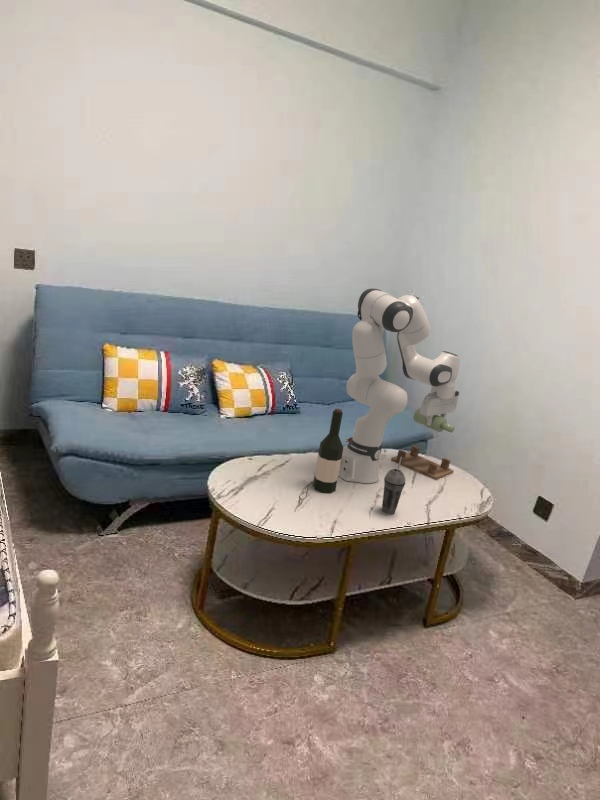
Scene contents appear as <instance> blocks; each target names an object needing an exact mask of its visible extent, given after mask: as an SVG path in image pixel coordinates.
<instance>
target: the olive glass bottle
mask: <svg viewBox="0 0 600 800" xmlns="http://www.w3.org/2000/svg"><path fill="white" fill-rule="evenodd" d="M420 408H421V407H420ZM420 408H418V409H416V410H415V412H414V414H413V421H414V422H415V423H417V424H418V425H419V424H420V425H422V426H424V427H427V428H428V429H431V430H433V431H436V432H438V433H441V432H443V431H446V432H448V433H450V434H452V433H453V432H455V426H454V425H452V424H450V423H448V422H447V418H446V417H445V418H443V417H441V416H440V415H434V416H433V418H432V421H433V423H432V425H430V426H429V425H427V417H426V416H423V415H421V414H420Z"/></svg>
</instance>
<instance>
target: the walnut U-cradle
mask: <svg viewBox="0 0 600 800" xmlns="http://www.w3.org/2000/svg"><path fill="white" fill-rule="evenodd" d="M419 452H420V447H418V446H415V445H411V448H410V451H405V450H402V449H399V450H397V455H395V456H392V457H391V458H390V461H391V462H393V463H395V464H398V465H399V461H400V457H402V459H401V463H400V466H403V467H405V468H407V469H409V470H412V471H414V472H416V473H419V474H421V475H423V476H425V477H428V478H430V479H433V480H435V481H438V480H441V479H443V478H445V477H447V475H448V476H451V475H452V474H454V469H452V468H450V464H451V459H448V458H445V457H442V459H441V463H436V462H434V461H432V460H430V459H428V458H425V457H422V456H420V455H419ZM440 478H441V479H440Z"/></svg>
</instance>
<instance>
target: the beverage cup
mask: <svg viewBox="0 0 600 800" xmlns="http://www.w3.org/2000/svg"><path fill="white" fill-rule="evenodd" d="M401 459H402V457H400V461H399V464H398V466H397V468H393V469H390V470H389V471H387V472H386V474H385V476H384V478H383V481H384V482H383V483H384V484H383V485H384V487H383V495H382V503H381V511H382V513H383V514H386V515H391V516H393V515H395V513H396V511H397V508H398V505H399V501H400V499H401V495H402V493H403V492H402V491H403V490H404V488H405V485H406V476H405V474H404V472H403V471H402V470H401V469H400V466H401V465H400V463H401Z"/></svg>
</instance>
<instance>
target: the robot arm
mask: <svg viewBox="0 0 600 800" xmlns="http://www.w3.org/2000/svg"><path fill="white" fill-rule="evenodd" d="M357 302H358V303H357V309H358V310H357V312H356V313H357V317H358V319H359V320H360V321H358V322H357V323H355V325H354V326H353V327H352V328H353V329H352V338H351V341H352V342H351V343H352V349H353V350H352V351H353V356H354V362H355V373H353V374H352V375H351V376H350V377H349V378H348V380H347V382H346V387H345V388H346V393H347V395H348V396H349V397H351V398H352V399H354V400H355V401H356V402H357V403H358V402H359V403H361V404H363V405H366V406H368V407H369V411H368V413H367V414H365V415H361V416H359V417H358V418H357V419H356V421H355V423H354V424H355V425H354V430H353V435H352V437H349V438H347V439H346V441H345V443H347V445H343V453H342V458H341V464H340V469H339V474H338V478H341V479H342V480H344V481H346V482H355V483H359V484H360V483H362V484H374V483H376V482H378V481H379V462H380V461H379V460H380V457H381V453H382V448H383V444H382V442H383V437H384V434H385V429H386V427H387V426H388V425H387V424H388V422H389V421H390V420H391V419H392V418H393V417H394V416H396V415H399V414H401V413H402V412H403V411H404V410H405V409H406V407H407V405H408V398H409V397H408V392H407V391H406V390H405V389H403V388H402V387H400V386H399V385H397V384H395V383H393V382H389V381H387V380H384V379H382V378H381V377H380V376H381V374H383V373H384V372H385V370H386V369H387V366H388V360H387V353H386V346H385V342H384V338H383V337H384V331H389V332H390V333H397V334H396V340H397V345H398V349H399V352H400V357H401V361H402V362H401V363H402V372H403V373H402V374H403V375H404V377H405V378H406V379H410V380H414V381H417V382H419V383H422V384H424V385H428V386H430V392H429V393H427V395H425V397H424V398H423V399H422V401H421V402H422V403H421V405H420V414H421V415H423V416H426V417H427V425H429V426H430V425H432V423H433V421H432V418H433V416H434V415H438V416H441V417H443V418H445V419H446V417H447V415H448V414H449V413H454V412H455V411H456V407H457V405H458V401H459V396H460V394H461V393H460V392H461V391H460V390H458V389H456V387H455V386H456V385H455V384H456V383H455V382H456V379H457V378H458V374H459V369H460V356H459V355H458V354H455V353H453V352H451V351H445V350H442V351H441V352H440V353H439V355H438V357H436V358H434V359H431V358H428V357H425V356H423V355H420V354H419V353H418V352H417V351H416V346H417V345H420V344H422V343H424V341H426V340H427V338H428V337H429V335H430V333H431V324H430V321H429V318H428V316H427V314H426V311H425V309H424V307H423V305H422V304H421V302H420V300H419V299H418V298H417V297H416V296H415V295H412V294H405V295H402V296H400V297H398V298H396V297H394V295H392V294H390V293H388V292H385V291H383V290H381V289H378V288H368V289H365V290H364V291H363V292H362V293H361V294H360V296H359V299H358V301H357Z"/></svg>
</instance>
